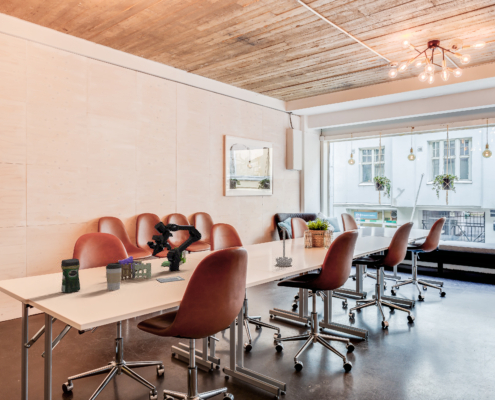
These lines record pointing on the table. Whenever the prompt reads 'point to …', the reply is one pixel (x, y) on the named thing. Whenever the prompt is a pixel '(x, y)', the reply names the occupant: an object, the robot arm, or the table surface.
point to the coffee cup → (113, 276)
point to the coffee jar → (70, 275)
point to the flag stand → (284, 260)
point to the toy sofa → (129, 260)
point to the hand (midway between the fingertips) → (153, 255)
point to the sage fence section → (142, 266)
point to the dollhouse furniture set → (180, 257)
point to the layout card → (170, 279)
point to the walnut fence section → (125, 268)
